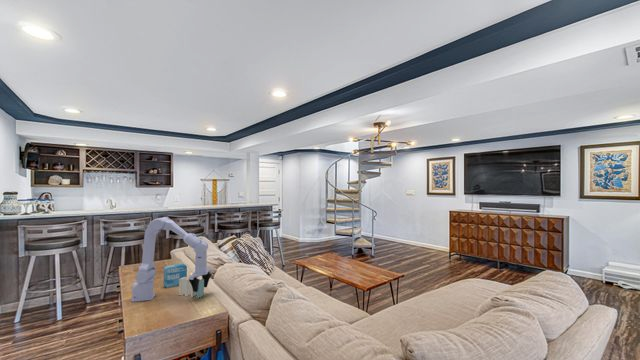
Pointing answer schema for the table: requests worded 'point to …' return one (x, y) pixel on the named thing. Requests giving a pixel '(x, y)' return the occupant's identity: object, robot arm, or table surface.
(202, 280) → the teal domino
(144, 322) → the table surface
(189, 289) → the domino
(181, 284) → the domino
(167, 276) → the data package
